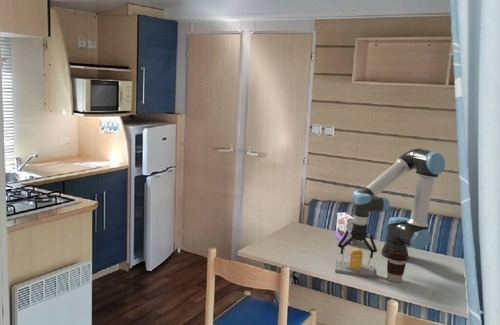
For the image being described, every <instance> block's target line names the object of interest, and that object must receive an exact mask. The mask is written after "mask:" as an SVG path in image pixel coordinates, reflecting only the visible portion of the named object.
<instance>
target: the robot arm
mask: <svg viewBox="0 0 500 325" xmlns="http://www.w3.org/2000/svg"><path fill="white" fill-rule="evenodd" d="M445 168H446V160H445V158H444V156H443V155H442V154H441V153H440V152H436V151H434V150H428V149H423V148H419V147H418V148H412V149H410V150H408V151H406V152H404V153H402V154H401V155H400V156H399V157H397V158H396V160H395V162H394V163H393V164H392V165H391V166H389V167H388V168H387V169H386V170H384V171H383V172H382V173H381V174H380V175H378V176H377V177H376V178H375V179H374V180H373V181H371V182H370V183H369V184H368V185H366V186H365V187H364V188H362V189H356V190H355V191H353V193H352V196H351V198H352V201H353V203H354V211H353V216H352V217H353V226H352V231H348V230H346V232H345V235H344V236H343V238H342V239H341V241H340V240H339V242H338V243H337V247H338V248H340V255H342V258H341V261H344V257H345V252H346V251H345V248H346V247H347V246H348V245H350V244H349V243H350V242H351V241H353V242H354V241H355V242H363V243H364V244H365V245H366V247H367V248H368V250H369V252H368V258H367V265H371V264H370V261H371V259H373V255H374V253H377V252H378V249H377V247H376V244H375V241H374V238H373V233H372V232H370V233H367V231H368V225H369V224H368V223H369V216H370V213H376V212H377V213H379V212H380V213H381V212H386V211H388V210H389V209H390V201H389V199H388V198H387V197H384V196H378V195H380V194H381V193H382V192H383V191H384V190H386V189H387V188H388V187H390V185H392V184H393V183H394V182H395V181H396V180H397V179H399V178H400V177H401V176H403V174H405V173H409V172H410V171H411V170H416V171H415V174H416V176H417V181H416V186H415V192H414V196H413V201H412V202H413V203H412V206H411V207H412V208H411V212H410V216H409V217H410V218H408V217H402V216H395V217H394V216H392V217H389V219H388V223H387V232H386V239H385V242H384V245H383V247H382V249H381V256H384V257H385V258H387V259H388V257H387V253H388V252H391V251H392V250H400V251H403V252H404V253H405V255H407V256H408V257H409V251H408V246H410V247H411V248H415V249H417V250H421V249H424V248H425V247H427V246H428V245H429V243H430V241H431V239H432V234H431V231H430V230H429V224H428V223H427V220H428V215H429V210H430V204H431V200H432V194H433V190H434V183H435V180H436V179H438V178H439V175H441V174H442V173H443V172H444V170H445ZM349 234H351V235H352V236H351V237H350V238H349V239H348V240H347V241H346V242H345V243H343V241H344V240H345V239H346V237H347V235H349ZM367 237H368V238H369V240H370V242H371V244H372V246H371V245H370V243H369V242H368V240H367V239H366V238H367Z"/></svg>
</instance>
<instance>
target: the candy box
mask: <svg viewBox="0 0 500 325" xmlns="http://www.w3.org/2000/svg"><path fill="white" fill-rule="evenodd" d="M336 214H337V216H336V224H335V232H334V237H335V238H336V239H337V240H339V242H340V241H341V239H342V238H343V236H344V235H345V232H346V230H348V231H352V226H353V217H354V216H351V214H348V213H346V212H337V213H336ZM351 236H352V235H351V234H349V235H347V237H346V239H345V240H344V241H343V243H342V244H344V243H345V242H346V241H347V240H348V239H349V238H350V237H351ZM353 242H354V240H353V241H351V242H350V243H349V244H348V245H353Z"/></svg>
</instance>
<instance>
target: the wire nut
mask: <svg viewBox="0 0 500 325" xmlns="http://www.w3.org/2000/svg"><path fill="white" fill-rule="evenodd" d="M349 253H350V256H349V262H350V263H349V269H353V270H360V271H361V265H362V264H363V256H364V253H363V252H362V250H361V249H359V248H352V250H350V252H349Z"/></svg>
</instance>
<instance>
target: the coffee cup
mask: <svg viewBox="0 0 500 325" xmlns="http://www.w3.org/2000/svg"><path fill="white" fill-rule="evenodd" d="M387 257H388V258H387ZM387 257H386V258H387V264H386V271H387V272H386V273H387V274H386V278H387V279H386V280H388V281H389V282H392V283H402V281H403V275H404V274H405V268H406V262H407V261H408V259H409V255H408V256H407V255H405V253H404V252H403V251H400V250H392V251H391V252H388V253H387Z"/></svg>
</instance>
